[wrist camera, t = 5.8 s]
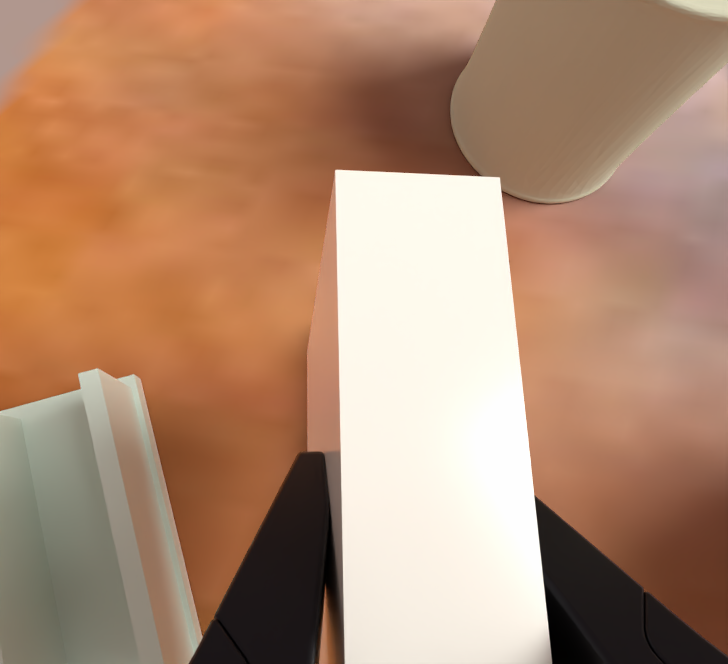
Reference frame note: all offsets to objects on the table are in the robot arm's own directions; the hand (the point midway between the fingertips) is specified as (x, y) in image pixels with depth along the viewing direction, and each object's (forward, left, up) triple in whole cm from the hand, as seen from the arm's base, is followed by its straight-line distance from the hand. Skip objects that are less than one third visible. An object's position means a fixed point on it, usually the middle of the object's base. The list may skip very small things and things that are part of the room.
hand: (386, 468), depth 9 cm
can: (+3, -20, -14) cm, 25 cm away
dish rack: (+6, +9, -14) cm, 17 cm away
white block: (-1, +1, -7) cm, 7 cm away
